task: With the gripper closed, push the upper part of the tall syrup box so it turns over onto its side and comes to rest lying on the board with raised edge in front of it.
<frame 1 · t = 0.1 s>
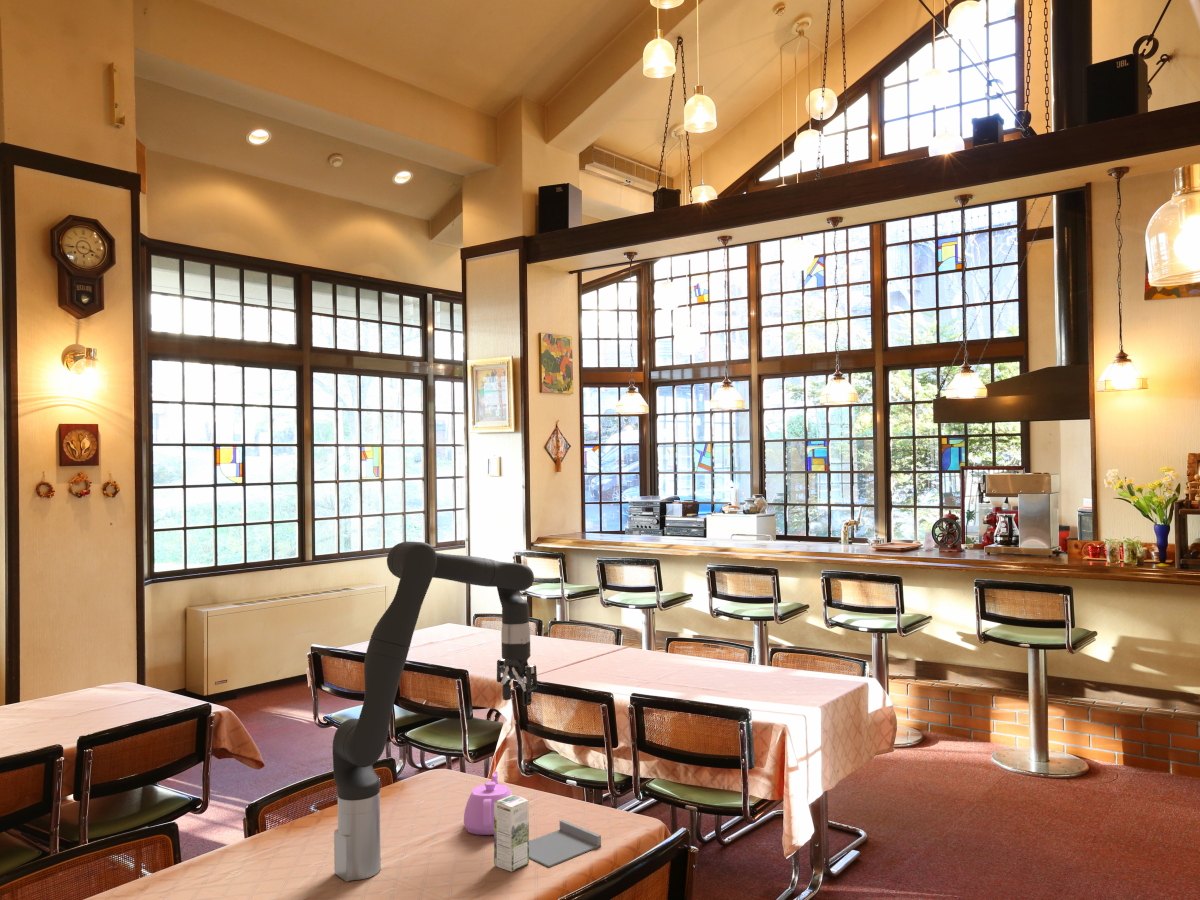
hand: (516, 702, 225), 29 cm above the table, fingers open, 8 cm apart
syrup box: (512, 866, 194), on the table
board with raised edge: (556, 847, 203), on the table
teapot: (491, 827, 217), on the table
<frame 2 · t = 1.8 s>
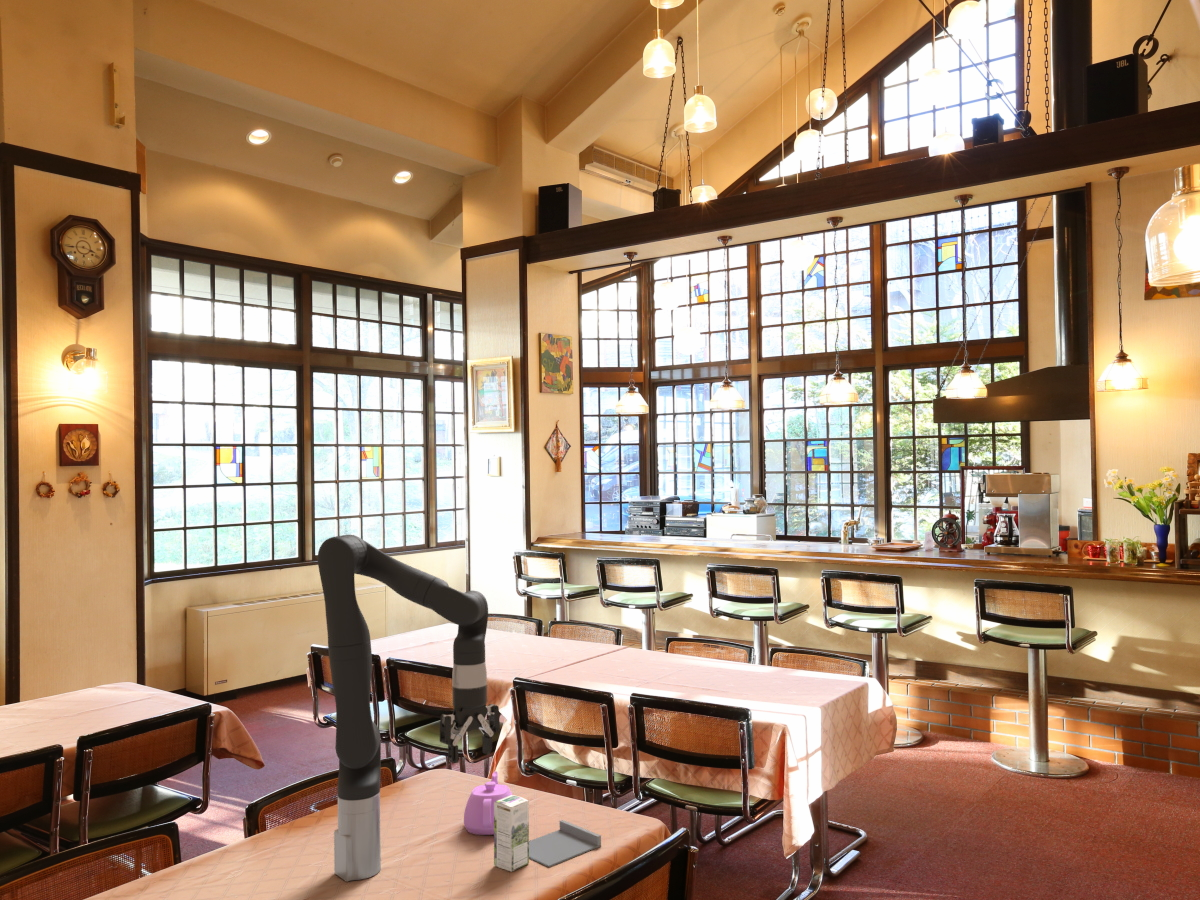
hand: (470, 757, 189), 26 cm above the table, fingers open, 8 cm apart
nothing on the table moved.
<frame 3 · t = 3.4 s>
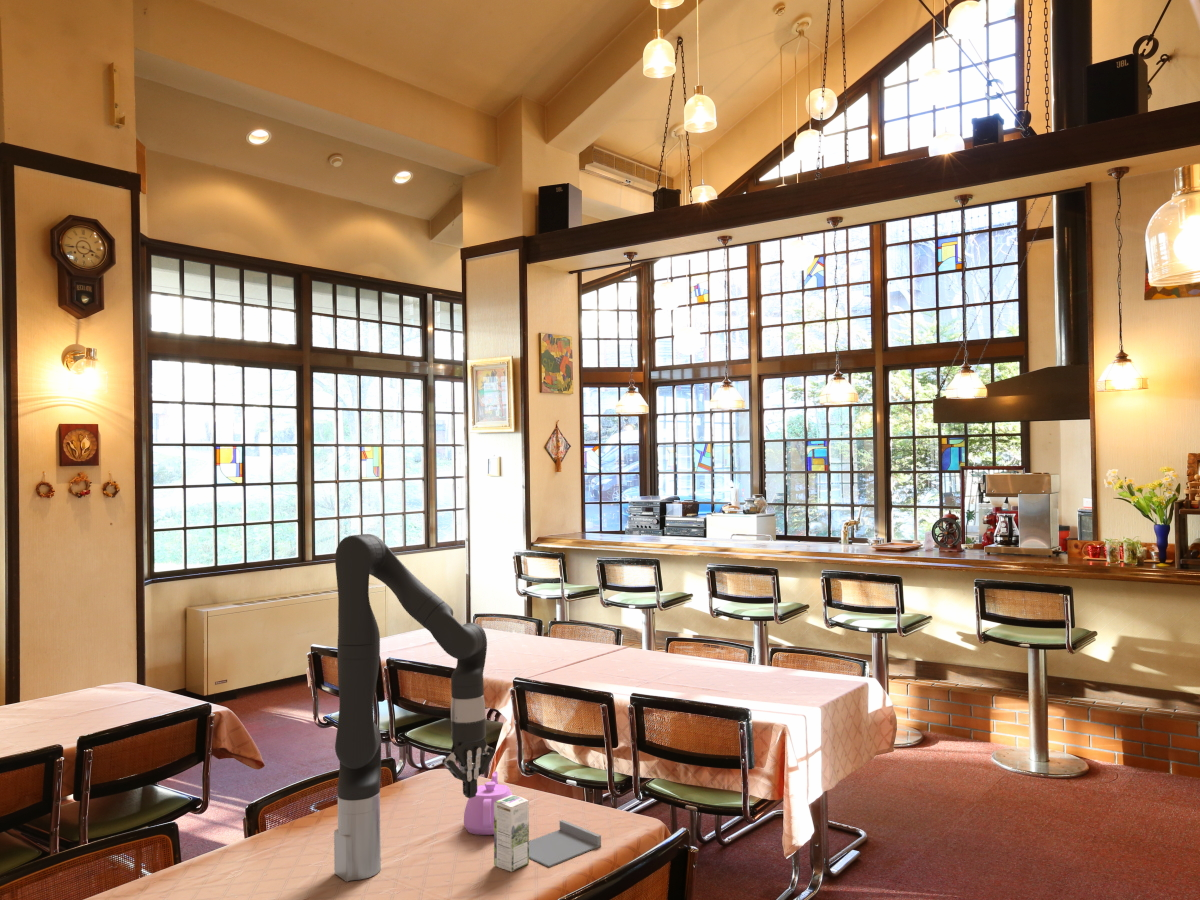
hand: (470, 796, 188), 18 cm above the table, fingers closed
nothing on the table moved.
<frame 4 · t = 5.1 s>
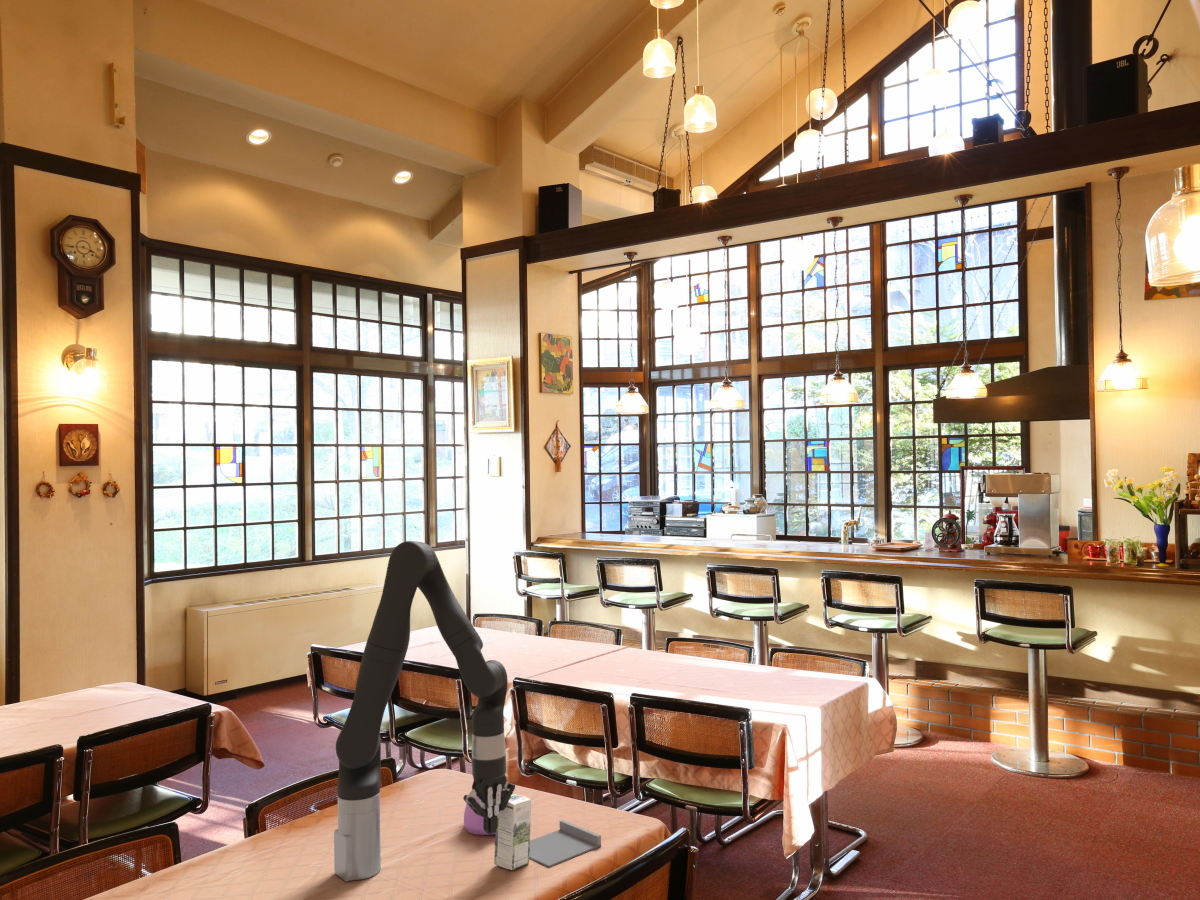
hand: (490, 832, 190), 9 cm above the table, fingers closed
syrup box: (512, 865, 194), on the table, touching hand
everything else where it was.
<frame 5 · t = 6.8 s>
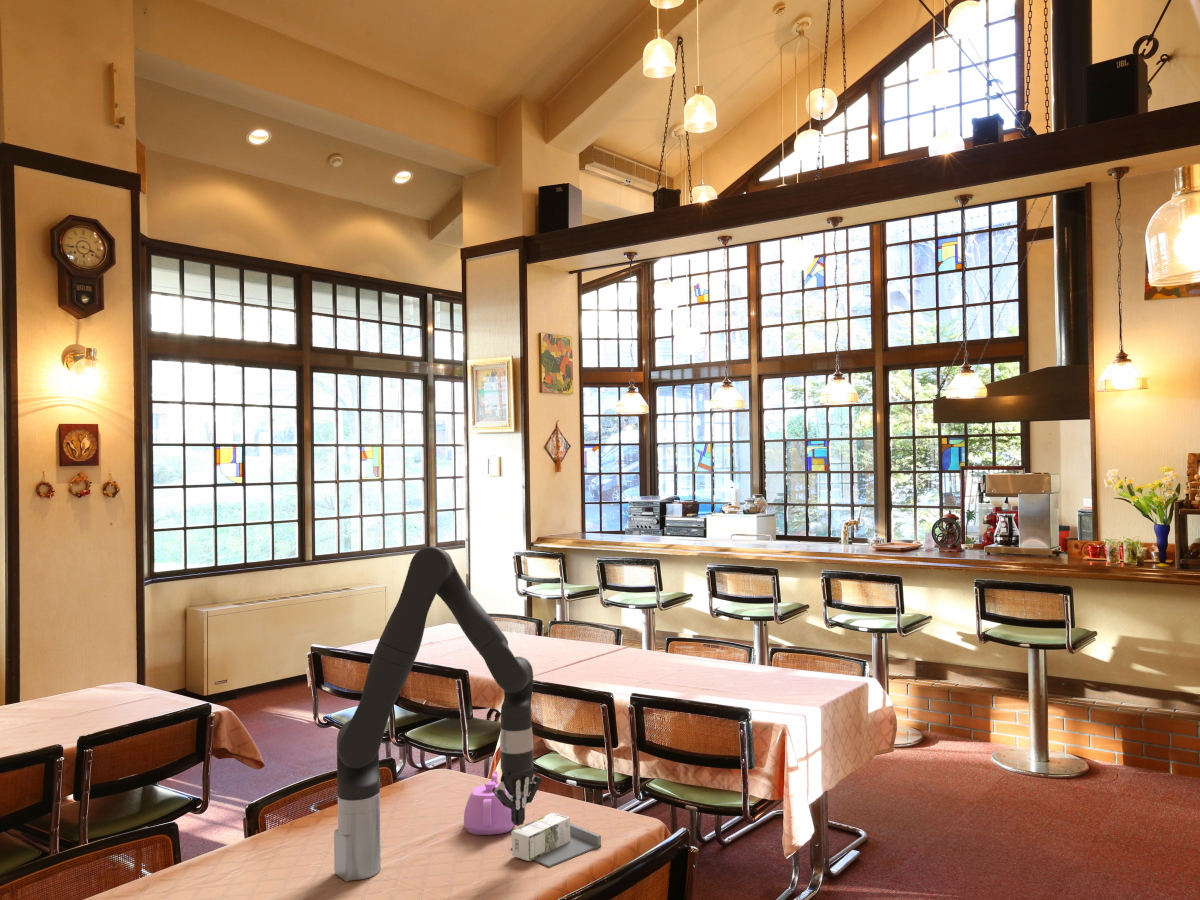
hand: (518, 824, 196), 9 cm above the table, fingers closed
syrup box: (519, 846, 196), point 3 cm above the table, touching board with raised edge
everything else where it was.
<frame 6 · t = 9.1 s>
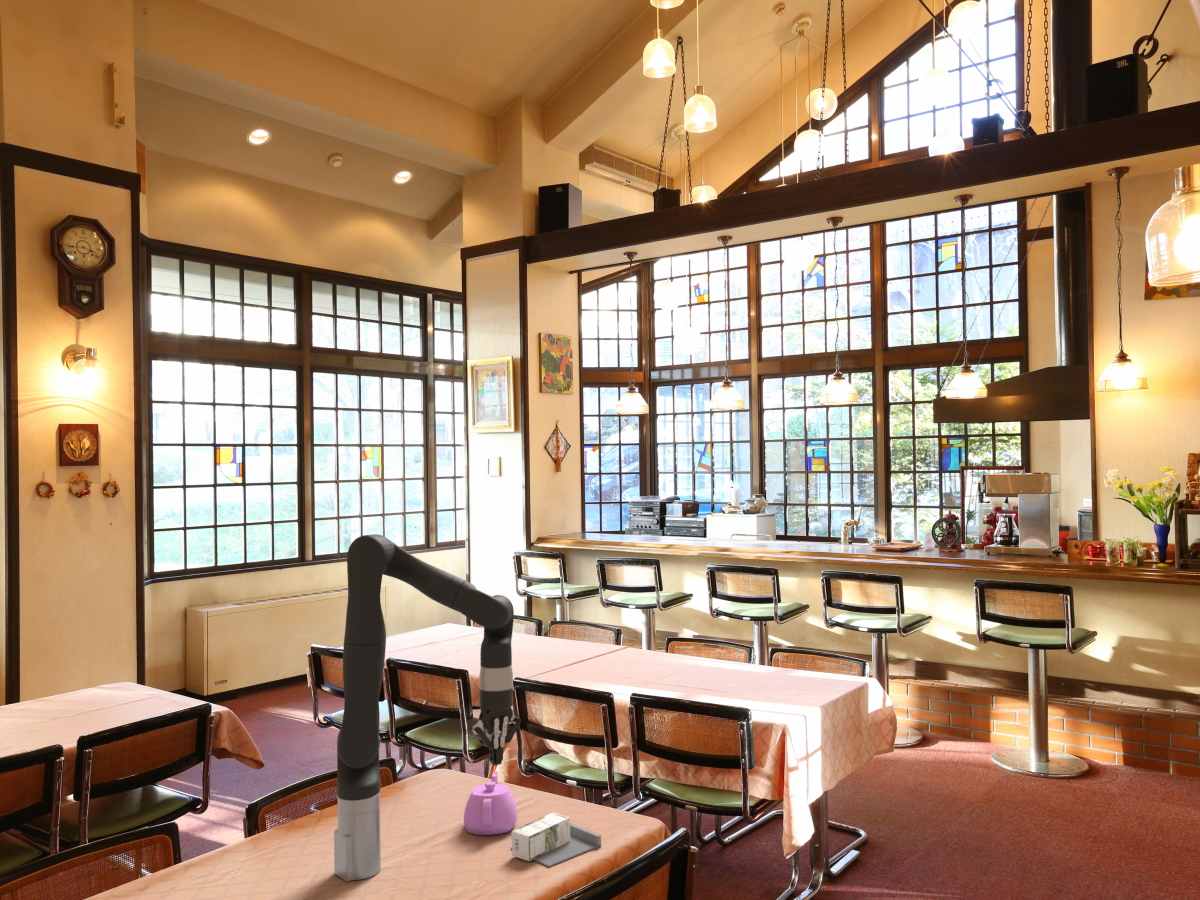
hand: (496, 764, 192), 23 cm above the table, fingers closed
nothing on the table moved.
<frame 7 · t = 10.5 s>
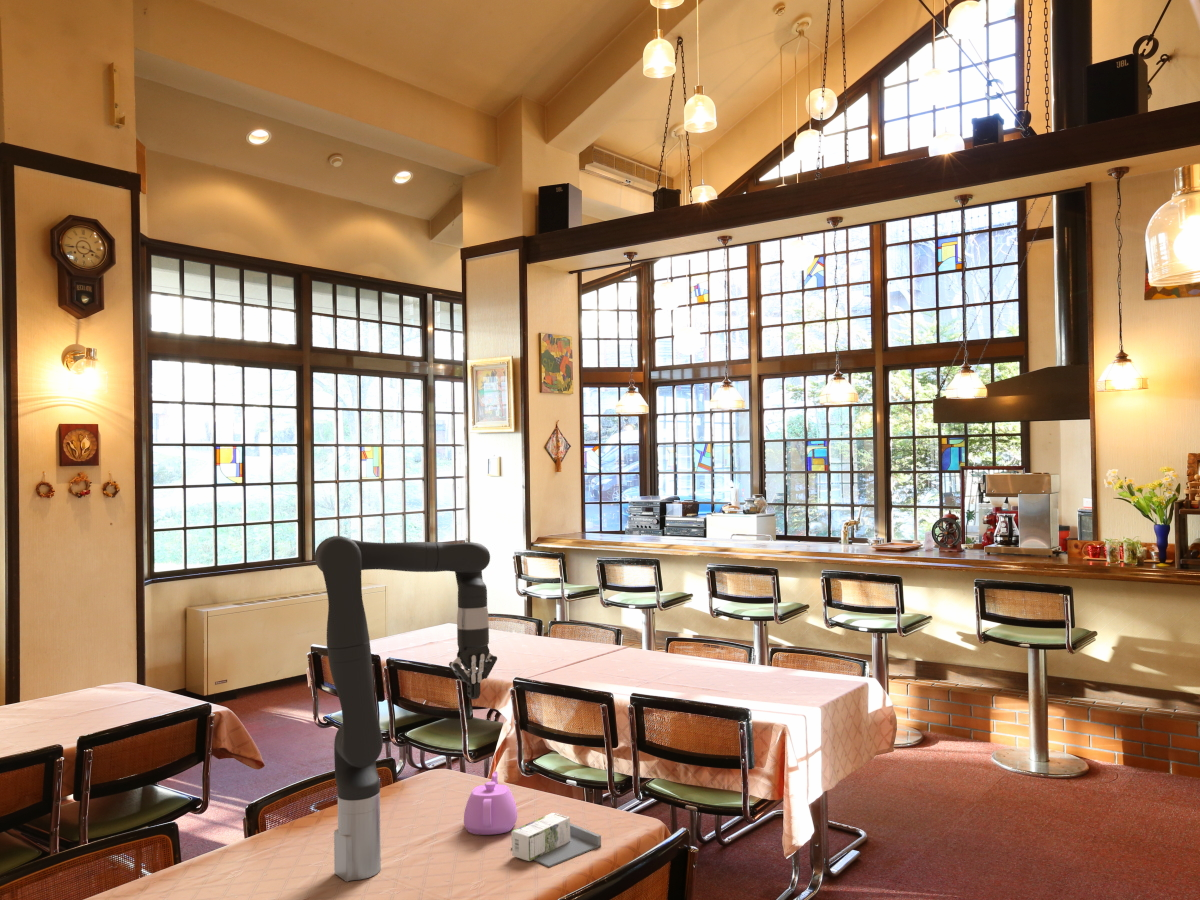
hand: (474, 698, 206), 35 cm above the table, fingers closed
nothing on the table moved.
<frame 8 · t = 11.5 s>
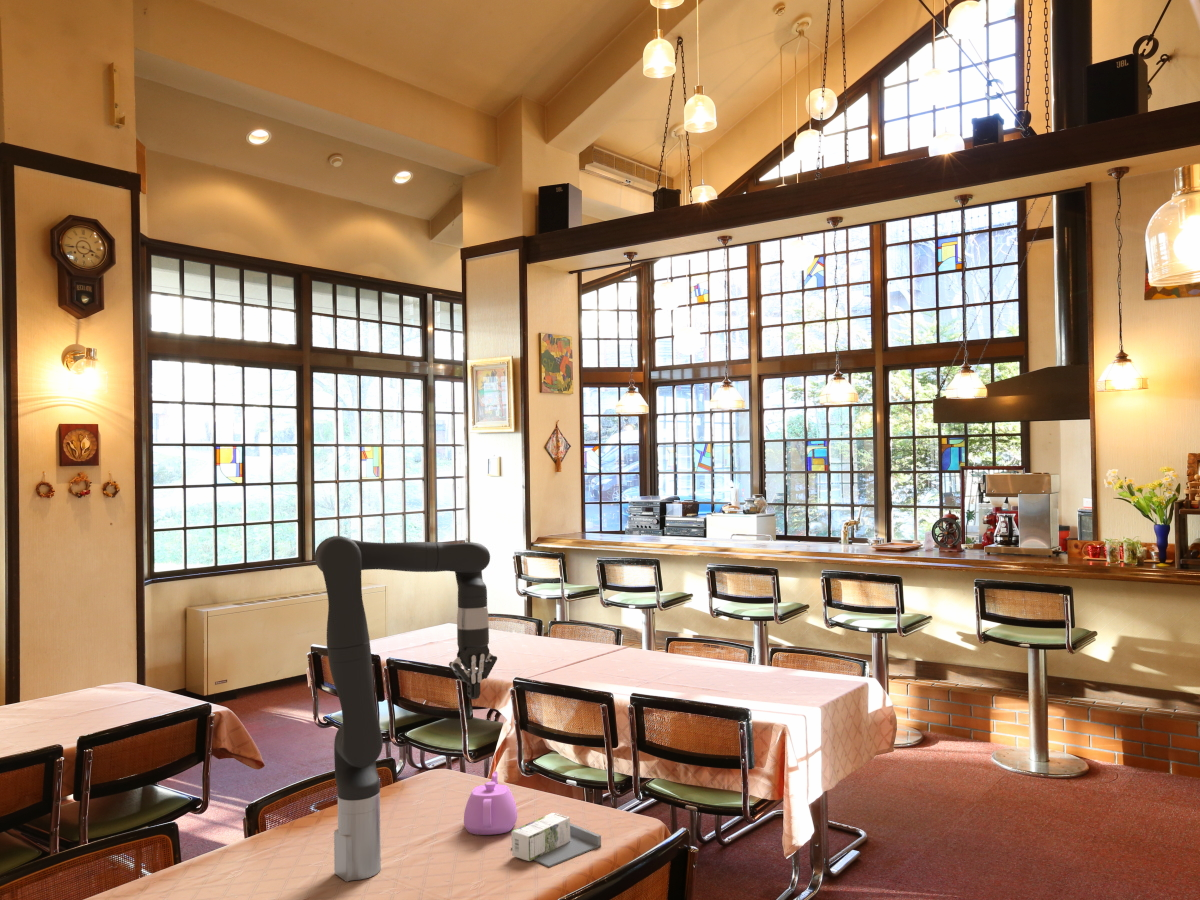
hand: (474, 698, 206), 35 cm above the table, fingers closed
nothing on the table moved.
at the end: syrup box tilted 90°; syrup box inside the target area (6.0 cm from its centre), point 3.2 cm above the table; the gripper is holding nothing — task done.
